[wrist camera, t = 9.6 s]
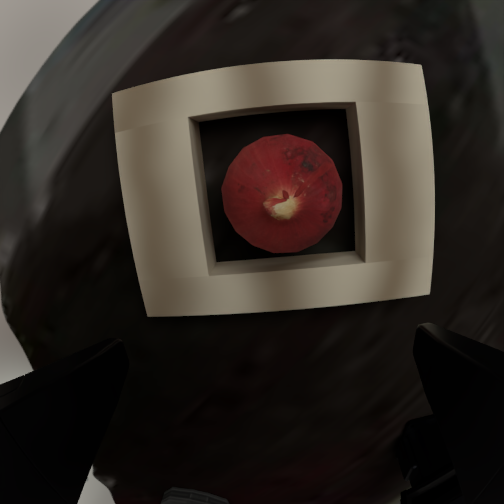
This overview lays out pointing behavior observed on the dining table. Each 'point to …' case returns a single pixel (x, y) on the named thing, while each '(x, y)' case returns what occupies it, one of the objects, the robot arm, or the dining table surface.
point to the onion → (282, 193)
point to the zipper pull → (190, 497)
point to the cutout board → (292, 267)
